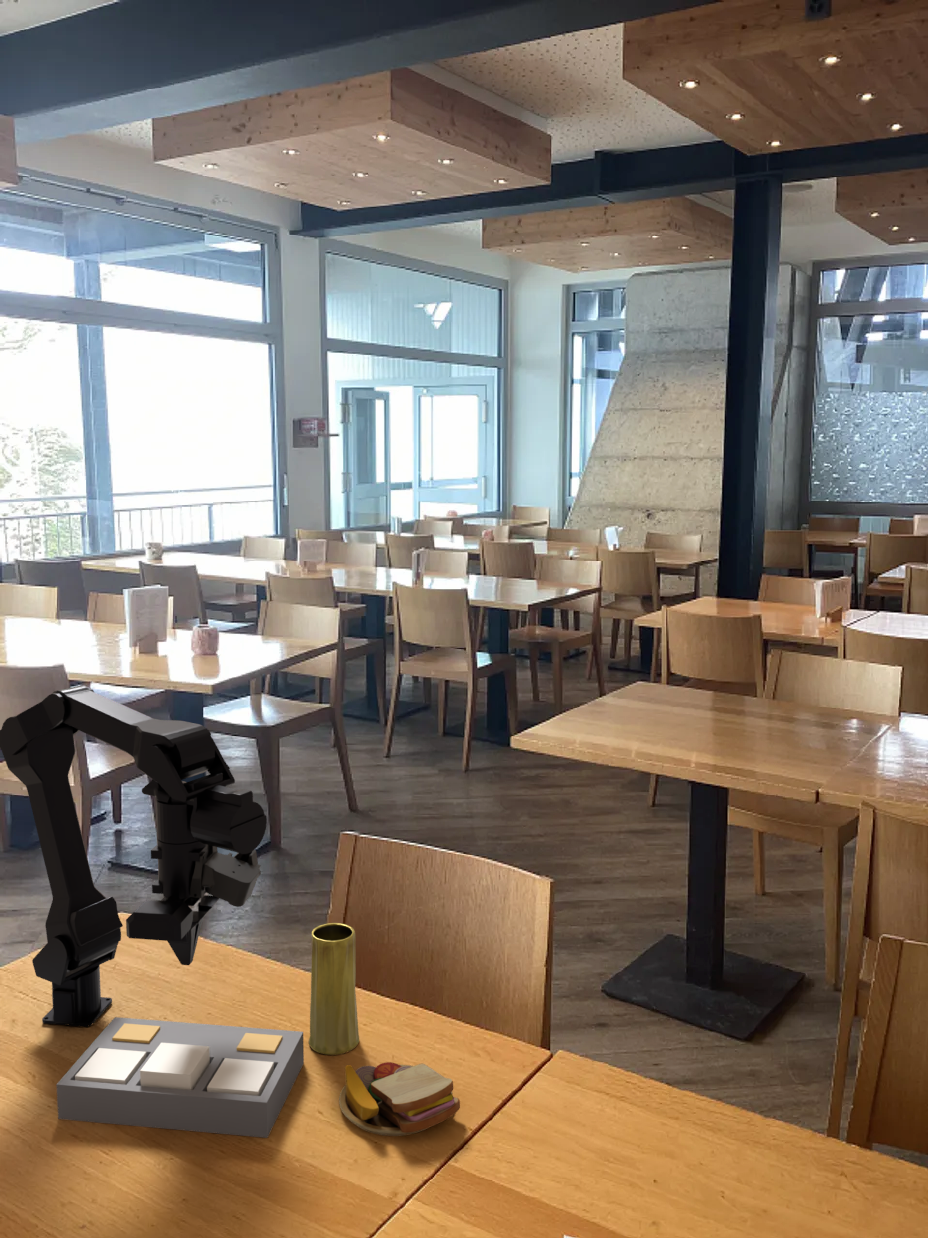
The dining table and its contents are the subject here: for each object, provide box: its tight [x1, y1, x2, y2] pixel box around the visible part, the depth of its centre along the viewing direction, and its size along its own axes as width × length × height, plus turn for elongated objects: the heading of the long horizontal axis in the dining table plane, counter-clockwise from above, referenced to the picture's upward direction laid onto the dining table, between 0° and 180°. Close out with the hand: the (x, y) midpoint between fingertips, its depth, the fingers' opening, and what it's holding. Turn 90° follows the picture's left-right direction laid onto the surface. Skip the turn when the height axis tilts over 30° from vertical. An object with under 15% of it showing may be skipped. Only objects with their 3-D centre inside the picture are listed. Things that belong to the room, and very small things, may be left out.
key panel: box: [55, 1016, 305, 1139], centre depth 119 cm, size 23×14×4 cm, turn 83°
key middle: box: [140, 1043, 210, 1090], centre depth 116 cm, size 6×6×2 cm
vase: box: [308, 922, 360, 1056], centre depth 129 cm, size 6×6×14 cm
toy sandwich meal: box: [338, 1061, 461, 1137], centre depth 117 cm, size 12×14×5 cm
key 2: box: [207, 1058, 274, 1096], centre depth 115 cm, size 6×6×2 cm
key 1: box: [75, 1048, 146, 1085], centre depth 117 cm, size 6×6×2 cm
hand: (186, 963), depth 124 cm, fingers closed
